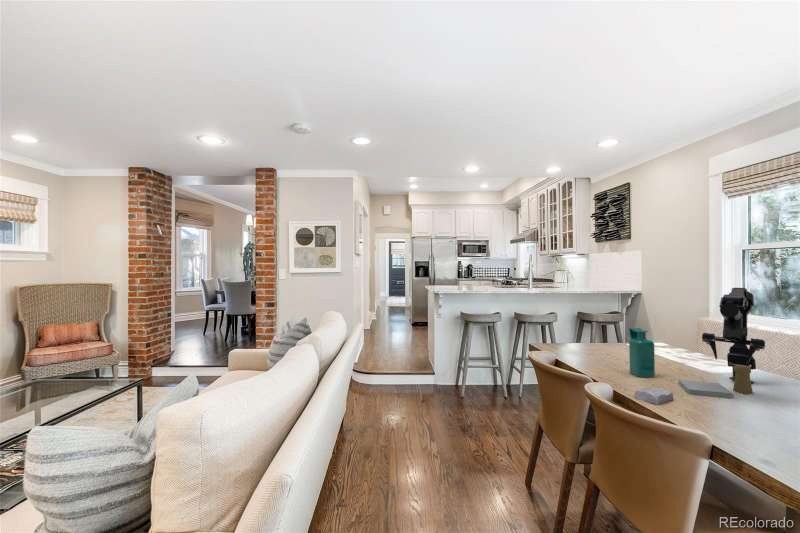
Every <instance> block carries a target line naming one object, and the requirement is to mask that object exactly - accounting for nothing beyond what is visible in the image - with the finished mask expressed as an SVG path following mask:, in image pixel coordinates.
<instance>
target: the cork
mask: <svg viewBox="0 0 800 533" xmlns="http://www.w3.org/2000/svg"><path fill="white" fill-rule="evenodd" d="M734 371H735V372H736V374H735V381H734V382H733V388H732V391H733V392H734V391H735V392H734V393H737V392H738V394H741V393H742V395H753V394H754V391H753V386H752V383H751V381H752V379H751V373H752V369H751V368H750V367H748V366H745V365H735V366H734ZM749 374H750V375H749Z"/></svg>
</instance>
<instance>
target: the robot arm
mask: <svg viewBox="0 0 800 533" xmlns="http://www.w3.org/2000/svg"><path fill="white" fill-rule="evenodd" d="M753 307H755V296H754V294H753V293H751V292H750V291H748V289H747V288H745V287H731V291H730V292H729V293H727V294H723V296H722V297H721V298H720V302H719V313H720V314H721V316H722V318H723V329H722V336H716V334H715V333H708V332H703V333H702V336H701V337H702V338H701V340H702V343H703V342H704V343H705V344H706V345H709V346H710V348H711V349H712V350H711V351H712V353H713V356H714V359H715V360H716V361H717V360H718V352H717V344H716V342H721V343H730V344H733V345H731V346H729V350H728V352H727V355H726V358H727V367H730V368H732V376H729V377H728V378H729V379H730V380H732V381H735V374H736V372H735V371H734V366H735V365H745V366H748V367H750V368H751V371H752V370H757V363H756V359H755V358H754V354H755V353H756V352H760V350H765V347H766V341H765V340H764V339H763V338H762V339H760V338H750V340H749V339H748V331H749V330H748V316H749V314H751V312H752V311H753ZM748 346H749V348H748ZM749 375H750V376H751V373H750V374H749ZM751 384H755V382H754V381H752V380H751Z"/></svg>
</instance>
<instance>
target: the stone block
mask: <svg viewBox="0 0 800 533" xmlns="http://www.w3.org/2000/svg"><path fill="white" fill-rule="evenodd" d="M633 395H634V397H635V399H636V400H639V401H641V400H642V402H645V401H646V402H647V403H649V404H654V405H656V406H657V405H662V404H664V403H667V402H670V401H673V400H674V393H673V392H672V391H668V390H666V389H664V388H659V387H645V388H641V389H640V390H635V391H634V394H633Z"/></svg>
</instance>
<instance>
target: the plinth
mask: <svg viewBox="0 0 800 533" xmlns="http://www.w3.org/2000/svg"><path fill="white" fill-rule="evenodd" d="M678 386H680V388H682V390H684V391H685V392H686V393H687V394H688V395H694V396H695V395H696V396H703V397H713V396H714V397H716V398H723V397H724V399H727V398H728V399H734V393H733V392H732V391H731V390H729V389H728V388H726V387H725V386H723V385H722V384H720V383H719V382H711V381H699V380H689V379H688V380H687V379H678ZM714 397H713V398H714Z"/></svg>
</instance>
